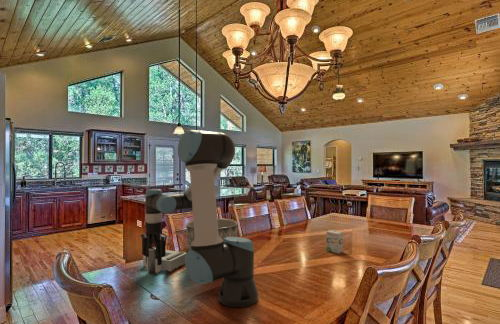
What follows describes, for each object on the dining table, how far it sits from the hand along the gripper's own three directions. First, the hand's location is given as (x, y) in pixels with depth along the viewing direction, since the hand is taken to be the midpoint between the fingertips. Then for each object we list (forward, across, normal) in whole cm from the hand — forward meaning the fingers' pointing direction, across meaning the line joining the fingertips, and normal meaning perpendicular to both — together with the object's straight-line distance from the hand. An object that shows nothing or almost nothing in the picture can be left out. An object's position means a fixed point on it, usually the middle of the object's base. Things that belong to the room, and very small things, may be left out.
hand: (153, 270), depth 136 cm
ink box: (+1, -76, -69) cm, 103 cm away
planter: (+1, -21, -19) cm, 28 cm away
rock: (+2, 0, -37) cm, 37 cm away
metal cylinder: (+1, 0, 0) cm, 1 cm away
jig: (+1, +2, -12) cm, 12 cm away
